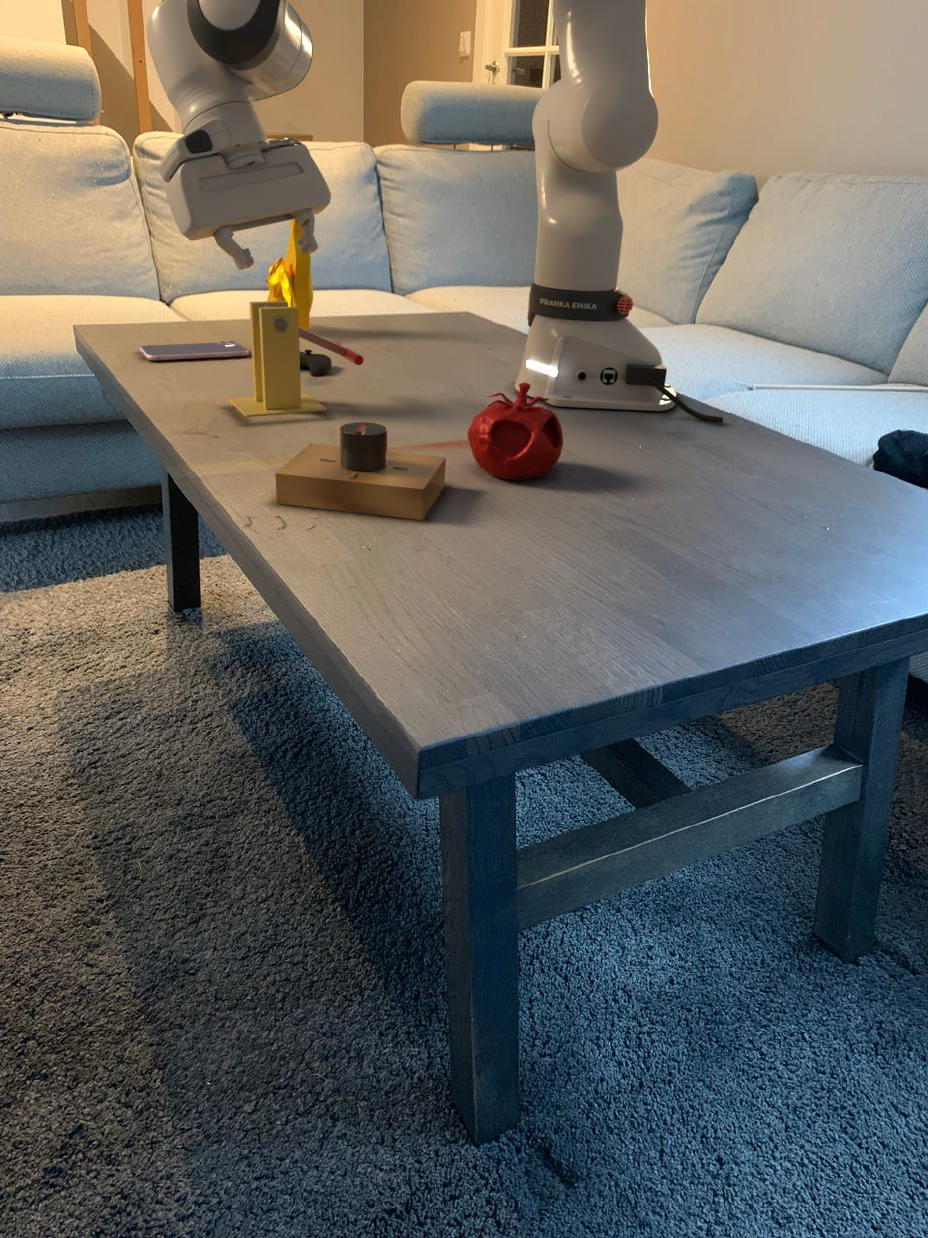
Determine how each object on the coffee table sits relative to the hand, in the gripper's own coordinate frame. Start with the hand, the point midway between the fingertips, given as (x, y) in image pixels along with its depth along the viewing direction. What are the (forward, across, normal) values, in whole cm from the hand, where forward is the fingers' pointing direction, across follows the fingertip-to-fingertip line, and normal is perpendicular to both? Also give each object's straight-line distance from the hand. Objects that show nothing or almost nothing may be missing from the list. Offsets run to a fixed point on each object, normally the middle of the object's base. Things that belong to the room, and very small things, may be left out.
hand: (279, 258), depth 116 cm
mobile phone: (+1, -2, -34) cm, 34 cm away
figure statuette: (0, -24, -42) cm, 49 cm away
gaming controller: (+11, -7, -18) cm, 22 cm away
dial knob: (+27, +16, +24) cm, 40 cm away
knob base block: (+30, +17, +22) cm, 41 cm away
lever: (+11, +2, +1) cm, 11 cm away
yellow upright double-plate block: (+16, +7, -4) cm, 18 cm away
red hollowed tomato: (+34, 0, +24) cm, 42 cm away
